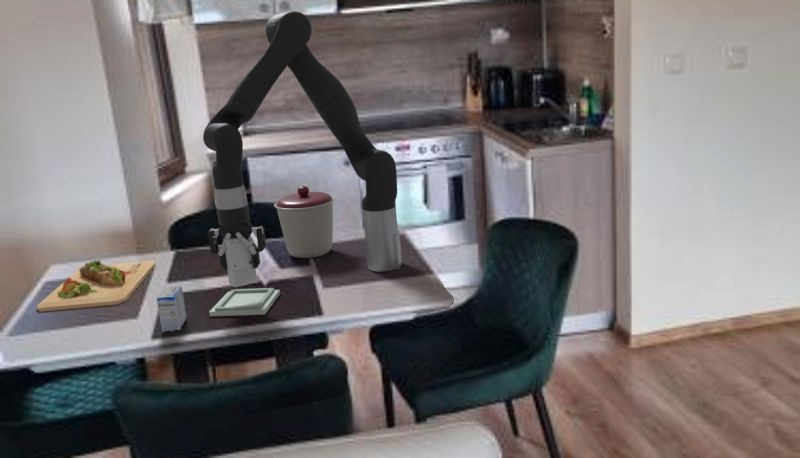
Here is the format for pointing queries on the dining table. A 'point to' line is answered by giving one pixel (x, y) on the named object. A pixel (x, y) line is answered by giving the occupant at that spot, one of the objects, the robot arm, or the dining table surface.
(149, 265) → the cutting board
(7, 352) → the dining table surface
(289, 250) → the canister
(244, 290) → the light green square tray
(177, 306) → the medicine box
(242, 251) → the skincare box
